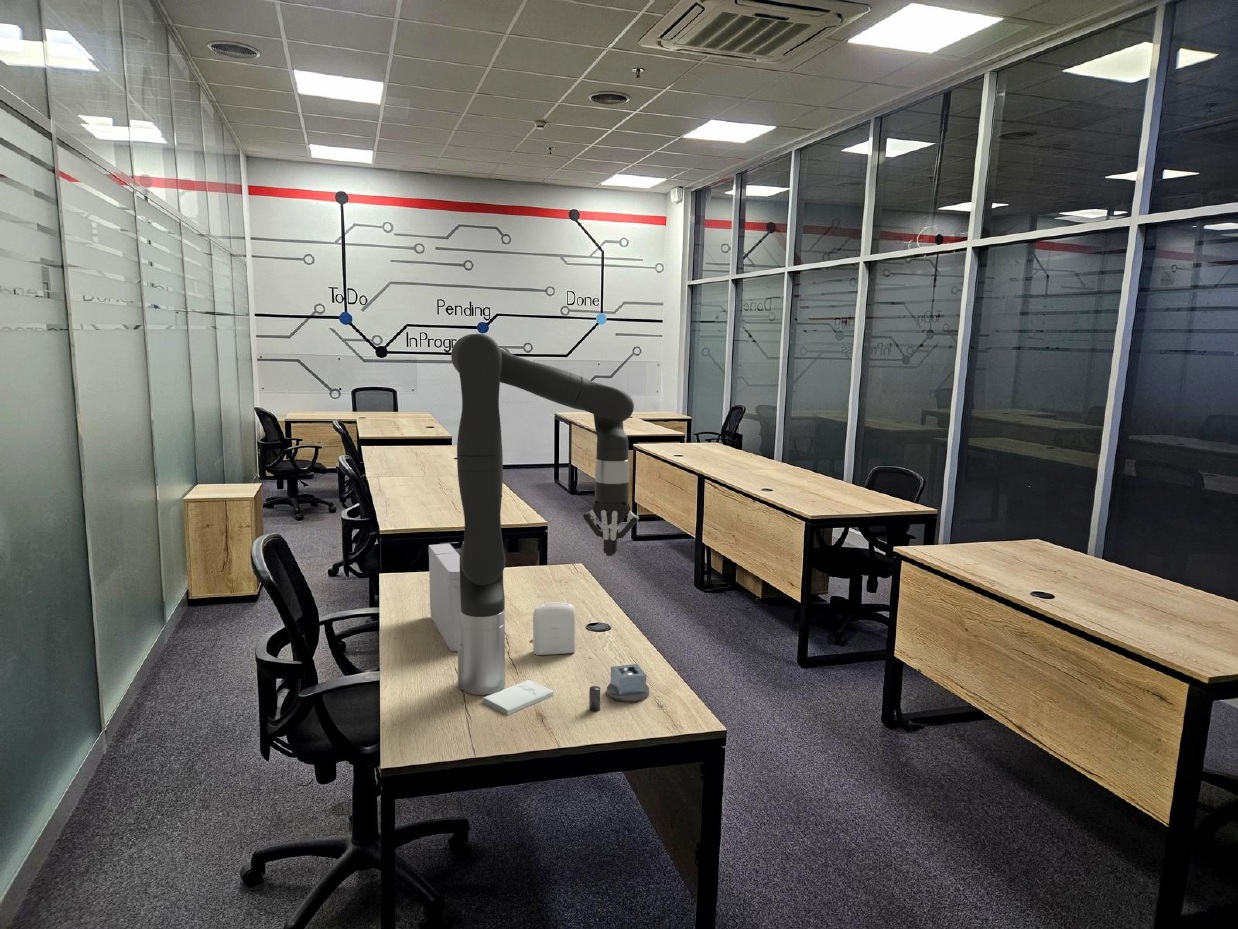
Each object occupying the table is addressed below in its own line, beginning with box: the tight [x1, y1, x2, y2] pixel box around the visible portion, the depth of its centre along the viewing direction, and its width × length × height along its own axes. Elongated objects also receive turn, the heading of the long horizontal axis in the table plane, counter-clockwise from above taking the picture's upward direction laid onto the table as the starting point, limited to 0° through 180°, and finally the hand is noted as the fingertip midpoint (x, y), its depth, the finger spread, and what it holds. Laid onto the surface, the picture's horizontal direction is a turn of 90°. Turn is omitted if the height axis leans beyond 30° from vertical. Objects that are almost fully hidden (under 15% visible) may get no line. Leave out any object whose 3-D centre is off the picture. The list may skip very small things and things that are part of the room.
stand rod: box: [588, 685, 601, 713], centre depth 155 cm, size 2×2×4 cm
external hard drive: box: [482, 679, 554, 716], centre depth 160 cm, size 2×8×12 cm
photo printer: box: [532, 601, 576, 656], centre depth 184 cm, size 10×4×12 cm, turn 100°
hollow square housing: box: [610, 663, 647, 696], centre depth 163 cm, size 6×6×4 cm
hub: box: [606, 671, 650, 703], centre depth 163 cm, size 9×9×4 cm
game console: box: [428, 542, 461, 652], centre depth 195 cm, size 6×27×20 cm, turn 24°
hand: (610, 555), depth 171 cm, fingers closed
